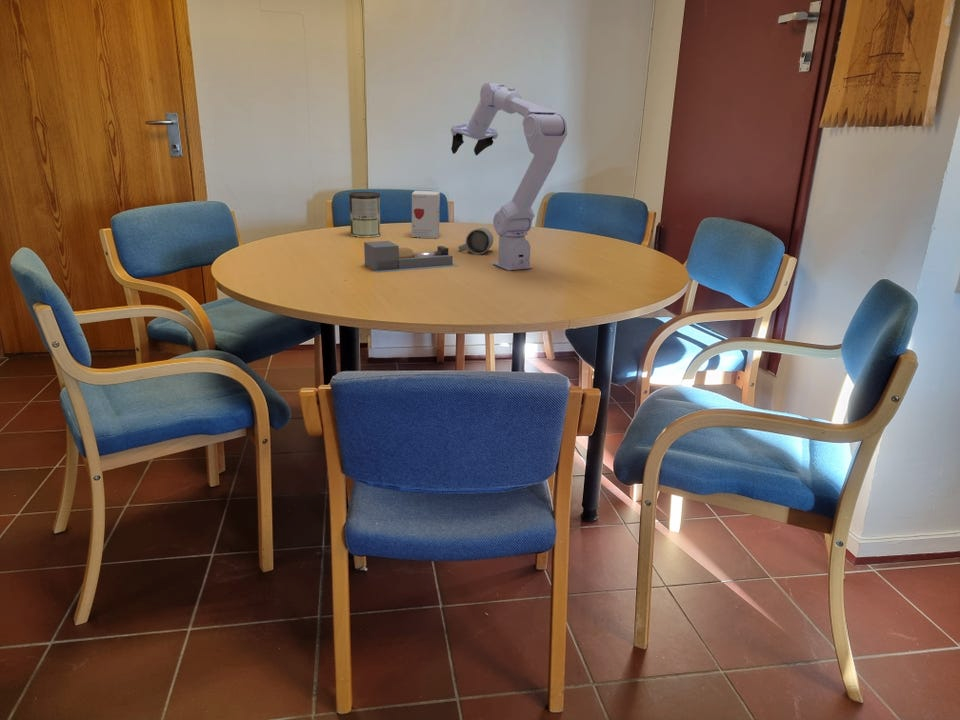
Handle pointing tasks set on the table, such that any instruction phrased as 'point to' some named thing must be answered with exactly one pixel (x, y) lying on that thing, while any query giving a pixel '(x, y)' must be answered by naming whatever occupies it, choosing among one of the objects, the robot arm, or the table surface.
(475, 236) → the ceramic mug
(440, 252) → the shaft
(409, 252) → the block
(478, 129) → the robot arm
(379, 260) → the grey slotted fixture
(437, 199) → the supplement box
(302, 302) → the table surface
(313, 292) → the table surface
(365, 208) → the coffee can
